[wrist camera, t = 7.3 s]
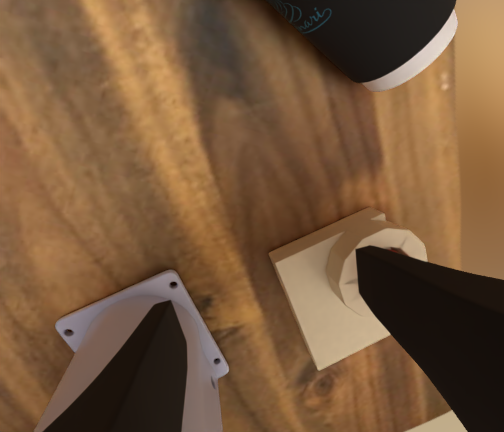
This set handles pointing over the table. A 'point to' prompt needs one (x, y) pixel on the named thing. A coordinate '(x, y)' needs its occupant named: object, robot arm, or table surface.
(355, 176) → the table surface
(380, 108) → the table surface
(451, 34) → the dixie cup
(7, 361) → the table surface
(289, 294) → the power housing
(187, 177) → the table surface
